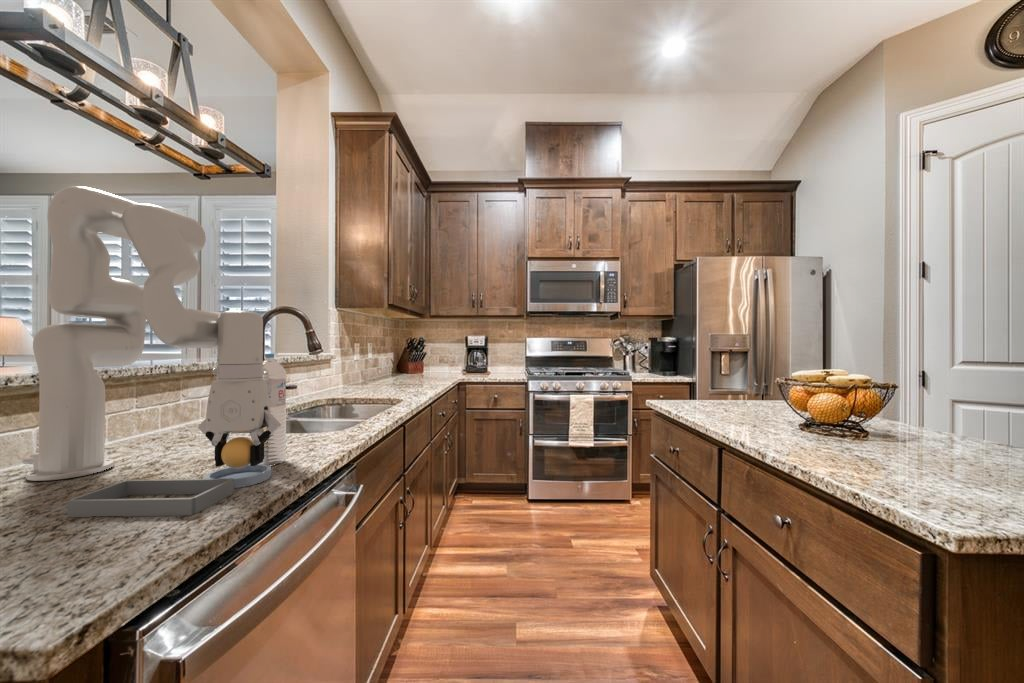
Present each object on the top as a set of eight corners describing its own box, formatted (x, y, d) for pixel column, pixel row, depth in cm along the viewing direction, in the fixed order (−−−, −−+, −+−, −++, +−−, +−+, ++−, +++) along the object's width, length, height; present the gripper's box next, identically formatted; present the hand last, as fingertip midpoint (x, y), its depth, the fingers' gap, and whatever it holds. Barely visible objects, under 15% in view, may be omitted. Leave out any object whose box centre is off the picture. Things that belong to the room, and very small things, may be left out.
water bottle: (269, 468, 88) (270, 353, 88) (242, 467, 89) (244, 353, 90) (292, 460, 95) (293, 353, 95) (267, 458, 96) (268, 353, 97)
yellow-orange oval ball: (213, 472, 77) (213, 440, 77) (233, 463, 83) (234, 434, 83) (245, 472, 77) (245, 440, 77) (263, 463, 83) (264, 433, 83)
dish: (190, 490, 74) (190, 480, 74) (229, 472, 85) (229, 464, 85) (250, 489, 75) (250, 480, 75) (281, 471, 86) (281, 463, 86)
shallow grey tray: (64, 517, 62) (65, 501, 62) (125, 494, 73) (126, 480, 73) (192, 515, 63) (192, 499, 63) (235, 492, 73) (235, 478, 73)
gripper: (181, 374, 76) (180, 470, 76) (274, 374, 77) (273, 469, 77) (209, 372, 84) (208, 460, 84) (294, 372, 85) (293, 458, 84)
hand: (239, 463), depth 80 cm, fingers closed on yellow-orange oval ball, 5 cm apart
